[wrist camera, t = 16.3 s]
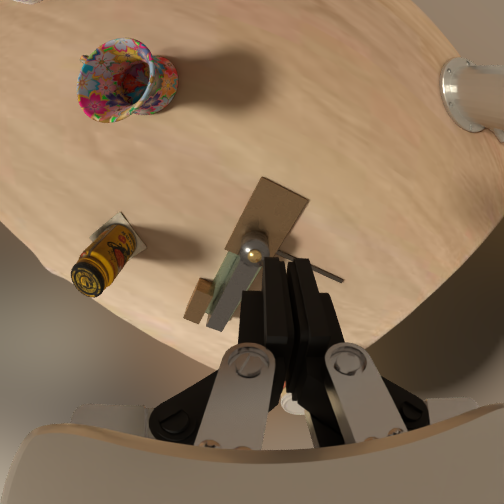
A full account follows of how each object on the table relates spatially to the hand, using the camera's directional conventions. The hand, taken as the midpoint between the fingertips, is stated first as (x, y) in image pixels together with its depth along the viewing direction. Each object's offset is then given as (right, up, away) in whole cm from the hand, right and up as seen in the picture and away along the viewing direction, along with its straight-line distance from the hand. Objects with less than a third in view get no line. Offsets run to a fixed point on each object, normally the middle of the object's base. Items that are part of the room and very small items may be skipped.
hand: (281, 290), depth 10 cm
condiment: (-23, +3, +30) cm, 38 cm away
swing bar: (-4, -3, +32) cm, 32 cm away
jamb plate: (+6, +3, +29) cm, 30 cm away
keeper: (-6, -4, +33) cm, 34 cm away
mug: (-16, +24, +18) cm, 34 cm away
